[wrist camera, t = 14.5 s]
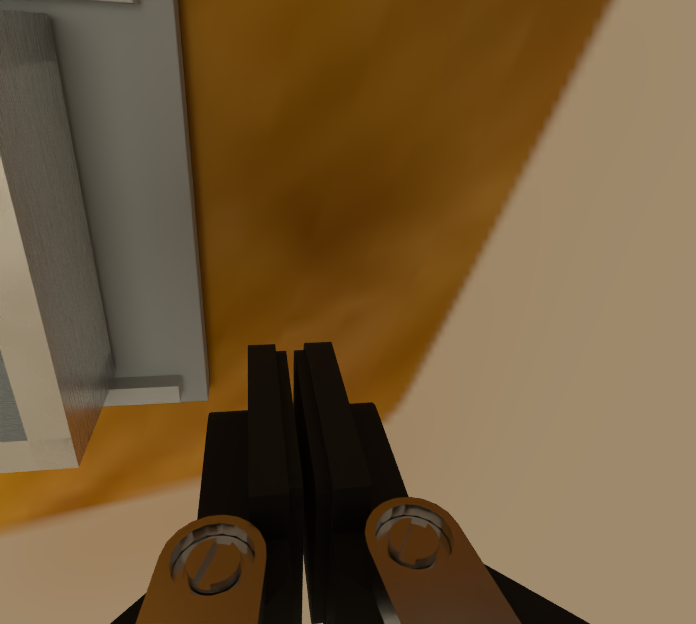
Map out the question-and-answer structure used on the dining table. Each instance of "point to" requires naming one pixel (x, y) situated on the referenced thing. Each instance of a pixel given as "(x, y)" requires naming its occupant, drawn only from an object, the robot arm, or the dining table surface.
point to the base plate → (135, 188)
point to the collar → (44, 265)
